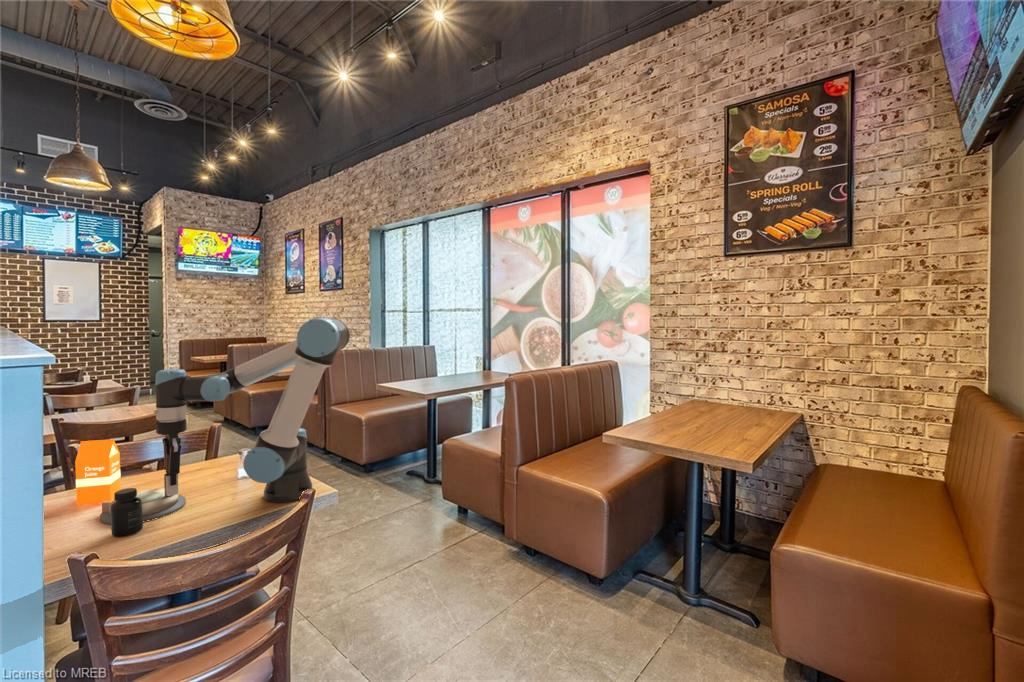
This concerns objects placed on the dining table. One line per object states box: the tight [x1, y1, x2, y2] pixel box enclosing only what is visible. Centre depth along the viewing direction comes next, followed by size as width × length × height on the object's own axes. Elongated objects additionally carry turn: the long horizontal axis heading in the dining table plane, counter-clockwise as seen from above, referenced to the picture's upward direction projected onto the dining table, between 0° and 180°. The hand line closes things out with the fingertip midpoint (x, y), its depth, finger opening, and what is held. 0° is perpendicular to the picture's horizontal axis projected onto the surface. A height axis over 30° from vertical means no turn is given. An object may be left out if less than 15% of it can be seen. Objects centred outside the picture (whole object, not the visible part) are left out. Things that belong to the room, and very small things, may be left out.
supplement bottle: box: [110, 487, 144, 538], centre depth 128 cm, size 7×7×12 cm
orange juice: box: [74, 438, 122, 506], centre depth 150 cm, size 8×9×20 cm
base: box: [99, 494, 187, 526], centre depth 142 cm, size 21×21×4 cm
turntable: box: [108, 474, 179, 516], centre depth 142 cm, size 17×17×9 cm
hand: (172, 494), depth 140 cm, fingers closed
